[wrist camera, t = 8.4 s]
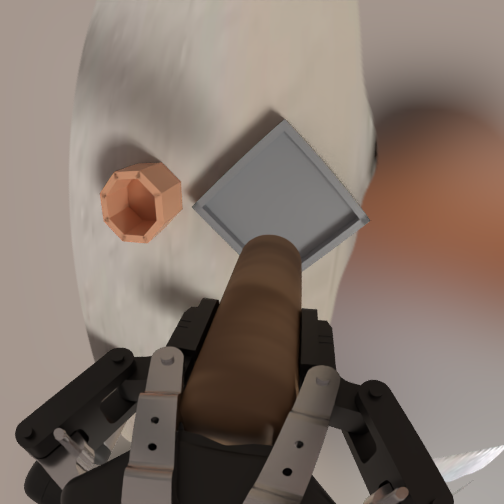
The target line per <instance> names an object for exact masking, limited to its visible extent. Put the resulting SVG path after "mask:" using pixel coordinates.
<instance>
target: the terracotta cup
mask: <svg viewBox="0 0 504 504" xmlns="http://www.w3.org/2000/svg"><path fill="white" fill-rule="evenodd" d="M100 198H101V205H102V212H103V219H104V222H105V223H106V224H107V225H108V226H109V227H110V228H111V229H112V230H113V232H114V233H115V234H116V235H117V236H118V237H119V238H120V239H121V240H122V241H126V242H138V243H148V242H150V241H151V240H152V239H153V238H154V237H155V236H156V235H157V234H158V233H159V232H161V231H162V230H163V229H164V228H165V227H166V226H167V225H168V224H169V223H170V222H171V221H172V219H173V218H174V217H175V216H176V215H177V214H178V213H179V212H180V211H181V210H182V193H181V181H180V180H179V179H178V178H177V177H176V176H175V175H174V174H173V173H172V172H171V171H170V170H169V169H168V168H167V167H166V166H165V165H164V164H163V163H162V162H161V163H138V164H135V165H132V166H129V167H126V168H123V169H121V170H118V171H115V172H114V173H113V174H112V176H111V177H110V179H109V180H108V182H107V183H106V185H105V186H104V188H103V189H102V191H101V193H100Z"/></svg>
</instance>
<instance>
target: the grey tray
mask: <svg viewBox="0 0 504 504" xmlns="http://www.w3.org/2000/svg"><path fill="white" fill-rule="evenodd" d="M192 208H193V209H194V210H195V211H196V212H197V213H198V214H199V215H200V216H201V217H202V218H203V219H204V220H205V221H206V222H207V223H208V224H209V225H210V226H211V227H212V228H213V229H214V230H215V231H216V232H217V233H218V234H219V235H220V236H221V237H222V238H223V239H224V240H225V241H226V242H227V243H228V244H229V245H230V246H231V247H232V248H233V249H234V250H235V251H236V252H237V253H238V254H239V255H240V254H241V251H242V249H243V247H244V246H245V245H246V244H247V243H248V242H249V241H250V240H252V239H253V238H255V237H258V236H261V235H277V236H281V237H283V238H285V239H287V240H289V241H290V242H291V243H292V244H293V245H294V246H295V247H296V248H297V250H298V251H299V254H300V256H301V262H302V271H304V270H305V269H306V268H308V267H309V266H311V265H312V264H313V263H315V262H316V261H317V260H319V259H320V258H321V257H323V256H324V255H326V254H327V253H328V252H330V251H331V250H332V249H334V248H335V247H336V246H338V245H339V244H340V243H342V242H343V241H344V240H346V239H347V238H348V237H350V236H351V235H352V234H354V233H355V232H356V231H358V230H359V229H360V228H361V227H363V226H364V225H365V224H367V223H368V222H369V221H370V219H369V218H368V217H367V215H366V214H365V212H364V211H363V210H362V208H361V207H360V206H359V204H358V203H357V202H356V201H355V199H354V198H353V197H352V195H351V194H350V193H349V192H348V190H347V189H346V188H345V187H344V185H343V184H342V183H341V182H340V180H339V179H338V178H337V177H336V176H335V174H334V173H333V172H332V171H331V170H330V168H329V167H328V166H327V165H326V164H325V162H324V161H323V160H322V159H321V158H320V157H319V155H318V154H317V153H316V152H315V151H314V150H313V149H312V148H311V146H310V145H309V144H308V143H307V142H306V141H305V140H304V139H303V138H302V136H301V135H300V134H299V133H298V132H297V131H296V130H295V129H294V128H293V127H292V126H291V125H290V124H289V123H288V121H287V120H286V119H284V120H283V121H282V122H281V123H280V124H278V125H277V126H276V127H275V128H274V129H273V130H272V131H271V132H269V133H268V134H267V135H266V136H265V137H264V138H263V139H262V140H261V141H259V142H258V143H257V144H256V145H255V146H254V147H253V148H252V149H251V150H250V151H249V152H247V153H246V154H245V155H244V156H243V157H242V158H241V159H240V160H239V161H238V162H237V163H236V164H235V165H234V166H233V167H232V168H231V169H229V170H228V171H227V172H226V173H225V174H224V175H223V176H222V177H221V178H220V179H219V180H218V181H217V182H216V183H215V184H214V185H213V186H212V187H211V188H210V189H209V190H208V191H207V192H206V193H205V194H204V195H203V196H202V197H201V198H200V199H199V200H198V201H197V202H196V203H195V204H194V205H193V206H192Z"/></svg>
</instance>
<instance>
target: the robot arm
mask: <svg viewBox="0 0 504 504" xmlns="http://www.w3.org/2000/svg"><path fill="white" fill-rule="evenodd" d="M218 306H219V300H216V299H207V298H203V299H202V301H201V303H200V305H199V307H198V308H197V307H191V308H190V309H188V310H187V311H186V312H184V314H183V316H182V318H181V319H180V321H179V323H178V325H177V327H176V329H175V330H174V332H173V334H172V336H171V338H170V340H169V342H168V343H167V345H166V347H162V348H160V349H158V350H156V351H155V352H154V353H153V355H152V356H149V357H134V356H133V353H132V352H131V351H130V350H128V349H126V348H116V349H113V350H111V351H109V352H108V353H107V354H106V355H104V356H103V357H102V358H101V359H99V360H98V361H97V362H95V363H94V364H93V365H92V366H90V367H89V368H88V369H87V370H85V371H84V372H83V373H82V374H80V375H79V376H78V377H77V378H75V379H74V380H73V381H72V382H70V383H69V384H68V385H67V386H65V387H64V388H63V389H62V390H60V391H59V392H58V393H57V394H55V395H54V396H53V397H52V398H50V399H49V400H48V401H47V402H45V403H44V404H43V405H42V406H40V407H39V408H38V409H37V410H35V411H34V412H33V413H32V414H31V415H29V416H28V417H27V418H26V419H24V420H23V421H22V422H21V423H20V424H19V425H18V426H17V428H16V432H15V436H16V440H17V442H18V443H19V444H20V446H22V447H23V448H24V449H25V450H26V451H27V452H28V453H29V454H30V455H31V456H32V457H33V458H34V459H35V460H36V462H35V463H34V464H33V466H32V468H31V469H30V471H29V473H28V475H27V477H26V479H25V484H24V489H25V493H26V494H27V496H29V497H30V498H31V499H32V500H33V501H35V502H36V503H38V504H336V503H335V502H334V501H333V500H332V499H331V497H330V496H329V495H328V494H327V492H326V491H325V490H324V489H323V488H322V486H321V485H320V484H319V483H318V482H317V480H316V479H315V478H314V477H313V475H312V473H313V470H314V468H315V465H316V462H317V459H318V456H319V453H320V451H321V448H322V445H323V442H324V439H325V436H326V433H327V430H328V427H329V426H331V427H334V428H338V429H341V430H342V433H343V434H344V437H345V439H346V441H347V444H348V446H349V448H350V450H351V453H352V455H353V457H354V459H355V462H356V464H357V466H358V468H359V471H360V473H361V475H362V477H363V480H364V482H365V484H366V487H367V489H368V491H369V493H370V496H368V497H367V498H366V500H365V501H364V503H363V504H454V500H453V496H452V494H451V492H450V490H449V488H448V487H447V485H446V483H445V481H444V479H443V477H442V476H441V474H440V472H439V470H438V468H437V467H436V465H435V463H434V461H433V460H432V458H431V456H430V455H429V453H428V451H427V449H426V448H425V446H424V444H423V442H422V441H421V439H420V437H419V436H418V434H417V433H416V431H415V429H414V427H413V426H412V424H411V422H410V421H409V419H408V418H407V416H406V414H405V413H404V411H403V409H402V408H401V406H400V405H399V403H398V401H397V400H396V398H395V396H394V395H393V393H392V392H391V390H390V389H389V387H388V386H387V385H386V384H385V383H383V382H380V381H378V380H369V381H366V382H364V383H363V384H362V385H357V384H353V383H350V382H348V381H345V380H344V379H343V378H341V377H340V375H339V373H338V372H337V371H336V365H335V353H334V344H333V333H332V327H331V326H330V325H329V323H328V322H327V321H322V320H318V316H317V309H304V308H302V309H301V329H300V360H299V394H298V397H297V399H296V401H295V404H294V406H293V408H292V410H290V412H289V414H288V416H287V419H286V421H285V423H284V425H283V427H282V430H281V432H280V434H279V436H278V438H277V440H276V443H275V445H274V446H271V445H262V444H244V445H223V444H221V443H218V442H216V441H214V440H211V439H209V438H207V437H205V436H202V435H200V434H195V433H191V432H187V430H186V427H185V424H184V421H183V418H182V415H181V412H180V404H181V399H182V395H183V392H184V390H185V387H186V385H187V382H188V380H189V377H190V375H191V372H192V370H193V367H194V365H195V362H196V360H197V358H198V355H199V353H200V350H201V348H202V345H203V343H204V340H205V338H206V336H207V333H208V331H209V328H210V326H211V323H212V321H213V318H214V316H215V314H216V311H217V309H218ZM135 412H136V416H135V422H134V428H133V435H132V442H131V449H130V450H129V451H128V452H126V453H124V454H122V455H120V456H118V457H116V458H114V459H112V460H110V461H108V462H107V460H108V458H109V456H110V454H111V452H112V450H113V448H114V446H115V444H116V442H117V440H118V438H119V436H120V434H121V432H122V430H123V428H124V426H125V424H126V422H127V420H128V419H129V418H130V417H131V416H132V415H133V414H134V413H135ZM93 464H97V465H101V466H98V467H96V468H94V469H92V470H90V471H88V469H89V468H91V467H92V466H93Z"/></svg>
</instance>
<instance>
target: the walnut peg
mask: <svg viewBox="0 0 504 504" xmlns="http://www.w3.org/2000/svg"><path fill="white" fill-rule="evenodd" d="M301 297H302V262H301V256H300V254H299V251H298V250H297V248H296V247H295V246H294V245H293V244H292V243H291V242H290V241H289V240H287V239H285V238H283V237H281V236H277V235H261V236H258V237H255V238H253V239H252V240H250V241H249V242H248V243H247V244H246V245H245V246H244V247H243V249H242V251H241V254H240V256H239V258H238V261H237V263H236V265H235V268H234V270H233V273H232V275H231V277H230V280H229V282H228V285H227V287H226V289H225V292H224V294H223V297H222V299H221V302H220V304H219V306H218V309H217V311H216V314H215V316H214V318H213V321H212V323H211V326H210V328H209V331H208V333H207V336H206V338H205V340H204V343H203V345H202V348H201V350H200V353H199V355H198V358H197V360H196V362H195V365H194V367H193V370H192V372H191V375H190V377H189V380H188V382H187V385H186V387H185V390H184V392H183V395H182V399H181V404H180V412H181V415H182V418H183V421H184V424H185V427H186V430H187V432H191V433H195V434H200V435H202V436H205V437H207V438H209V439H211V440H214V441H216V442H218V443H221V444H223V445H244V444H262V445H271V446H274V445H275V443H276V440H277V438H278V436H279V434H280V432H281V430H282V427H283V425H284V423H285V421H286V419H287V416H288V414H289V412H290V410H292V408H293V406H294V404H295V401H296V399H297V397H298V394H299V360H300V329H301Z"/></svg>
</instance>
